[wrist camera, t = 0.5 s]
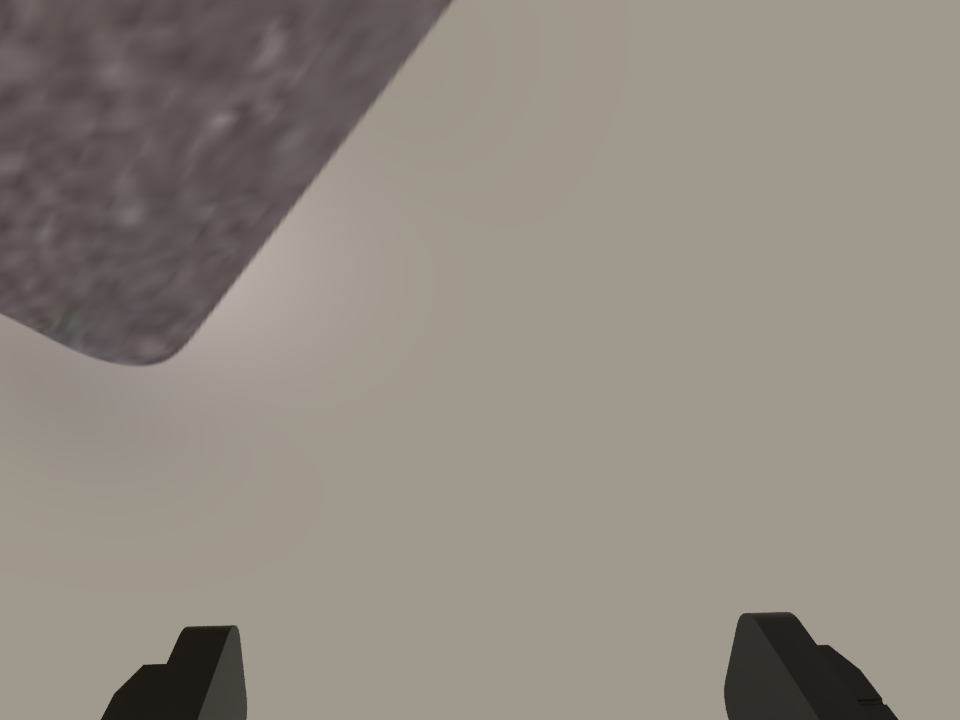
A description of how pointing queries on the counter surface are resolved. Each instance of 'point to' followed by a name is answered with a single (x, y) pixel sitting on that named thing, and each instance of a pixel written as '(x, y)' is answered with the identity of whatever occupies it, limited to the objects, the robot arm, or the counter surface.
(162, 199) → the counter surface
